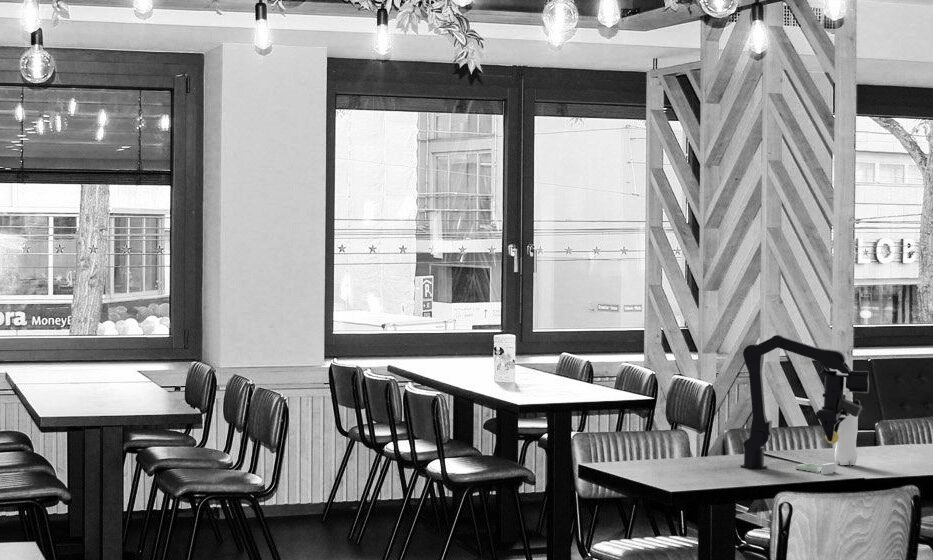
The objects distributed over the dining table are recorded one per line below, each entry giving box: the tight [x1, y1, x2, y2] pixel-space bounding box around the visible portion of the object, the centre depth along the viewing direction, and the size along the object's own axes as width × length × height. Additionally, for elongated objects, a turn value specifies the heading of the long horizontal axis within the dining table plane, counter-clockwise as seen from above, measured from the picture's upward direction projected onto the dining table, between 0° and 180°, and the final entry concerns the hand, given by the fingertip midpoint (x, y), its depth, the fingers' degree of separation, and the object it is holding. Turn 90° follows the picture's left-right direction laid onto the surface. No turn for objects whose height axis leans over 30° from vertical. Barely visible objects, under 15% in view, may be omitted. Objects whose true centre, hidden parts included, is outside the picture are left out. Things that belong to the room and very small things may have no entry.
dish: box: [795, 462, 822, 473], centre depth 375 cm, size 8×8×1 cm
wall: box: [820, 462, 837, 475], centre depth 369 cm, size 7×1×3 cm, turn 133°
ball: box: [825, 431, 839, 445], centre depth 368 cm, size 4×4×4 cm
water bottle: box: [834, 388, 859, 466], centre depth 387 cm, size 7×7×25 cm
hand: (831, 440), depth 368 cm, fingers closed on ball, 4 cm apart
